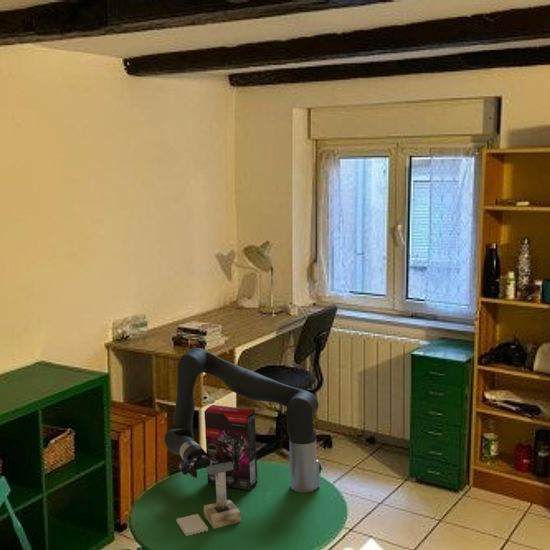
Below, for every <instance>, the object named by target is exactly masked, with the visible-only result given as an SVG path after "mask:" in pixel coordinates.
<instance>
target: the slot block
mask: <svg viewBox="0 0 550 550" xmlns="http://www.w3.org/2000/svg"><path fill="white" fill-rule="evenodd" d="M203 517H204V518H205V519H206V520H207V522H208V523H209V524H210V525H211V527H212V528H213V529H217V528H221V527H225V526H230V525H234V524H238V522H239V523H241V522H242V519H241V518H242V517H241V511H240V509H239V508H238V506H236V504H234V502H233V501H232V500H231V499H227V511H224V512H220V513H218V512H217V502H213V503H209V504H205V505H203Z"/></svg>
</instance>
